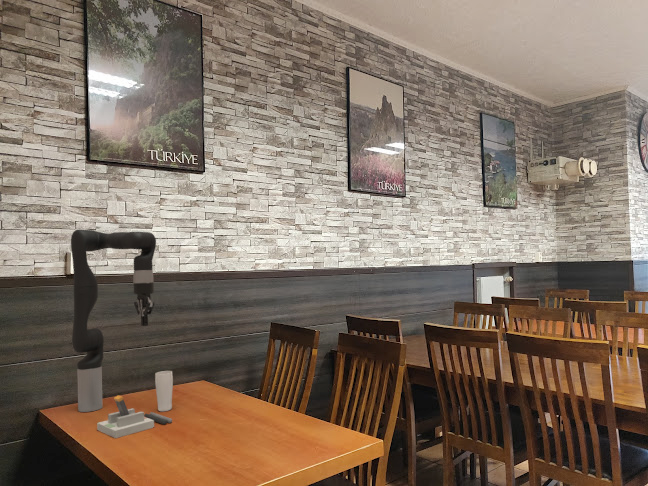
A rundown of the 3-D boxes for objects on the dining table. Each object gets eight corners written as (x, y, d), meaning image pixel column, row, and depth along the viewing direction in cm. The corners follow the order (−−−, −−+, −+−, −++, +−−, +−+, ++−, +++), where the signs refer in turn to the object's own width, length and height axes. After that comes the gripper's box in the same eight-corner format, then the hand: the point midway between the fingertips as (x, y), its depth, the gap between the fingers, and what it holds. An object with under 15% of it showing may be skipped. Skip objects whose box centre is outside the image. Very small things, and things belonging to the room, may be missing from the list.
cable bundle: (143, 418, 189) (143, 413, 189) (152, 415, 191) (152, 411, 191) (163, 425, 178) (163, 420, 178) (173, 422, 181) (172, 418, 181)
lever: (121, 419, 177) (112, 397, 176) (125, 416, 179) (117, 395, 177) (127, 421, 174) (118, 399, 172) (132, 418, 175) (123, 396, 174)
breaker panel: (97, 429, 176) (96, 414, 177) (134, 420, 186) (134, 405, 187) (115, 438, 166) (115, 421, 166) (154, 427, 176) (153, 411, 176)
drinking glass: (168, 412, 195) (167, 374, 196) (152, 412, 196) (151, 374, 197) (176, 407, 201) (175, 370, 202) (161, 407, 203) (160, 370, 204)
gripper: (126, 282, 197) (127, 326, 196) (142, 282, 188) (143, 327, 187) (144, 281, 202) (145, 324, 201) (160, 281, 193) (161, 325, 192)
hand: (144, 325), depth 194 cm, fingers closed
